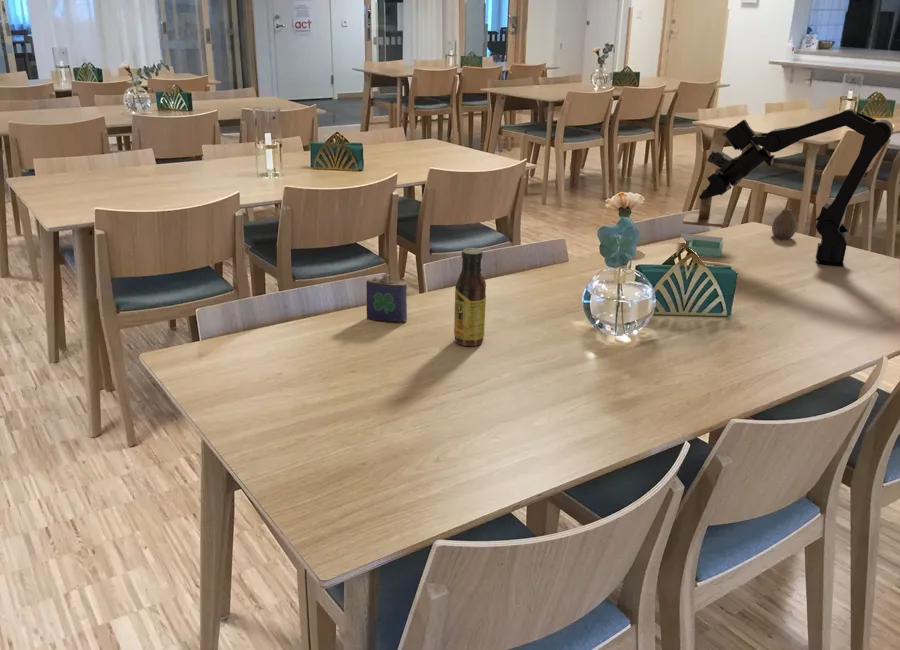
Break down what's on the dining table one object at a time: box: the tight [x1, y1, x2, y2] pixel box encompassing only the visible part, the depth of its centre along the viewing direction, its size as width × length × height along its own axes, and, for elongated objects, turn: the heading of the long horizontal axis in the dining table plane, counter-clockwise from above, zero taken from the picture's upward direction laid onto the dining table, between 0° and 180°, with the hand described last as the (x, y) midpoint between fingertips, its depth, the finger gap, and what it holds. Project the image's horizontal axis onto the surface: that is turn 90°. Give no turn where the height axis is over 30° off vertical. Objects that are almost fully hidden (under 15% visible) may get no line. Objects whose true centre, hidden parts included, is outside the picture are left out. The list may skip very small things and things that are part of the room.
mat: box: [679, 233, 723, 246], centre depth 240 cm, size 12×12×1 cm
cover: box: [682, 187, 725, 228], centre depth 236 cm, size 11×11×10 cm
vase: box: [771, 208, 798, 241], centre depth 244 cm, size 7×7×9 cm
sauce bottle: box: [453, 247, 487, 347], centre depth 163 cm, size 6×6×20 cm
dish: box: [687, 239, 724, 259], centre depth 229 cm, size 9×9×2 cm
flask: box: [365, 273, 408, 324], centre depth 176 cm, size 9×3×11 cm, turn 74°
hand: (701, 197), depth 236 cm, fingers closed on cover, 3 cm apart
